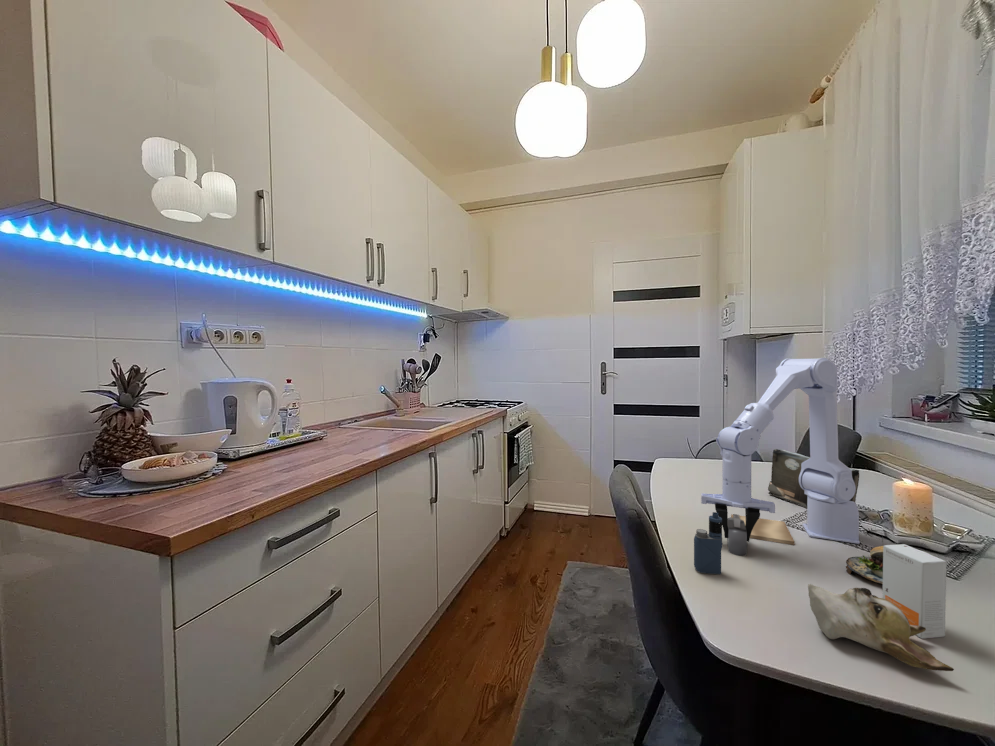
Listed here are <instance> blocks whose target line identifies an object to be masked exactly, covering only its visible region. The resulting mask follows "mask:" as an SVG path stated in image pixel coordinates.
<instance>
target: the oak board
mask: <svg viewBox="0 0 995 746" xmlns="http://www.w3.org/2000/svg"><path fill="white" fill-rule="evenodd" d="M738 515H739V516H740V519H741V520H743V521H744V523H745V525H746V515H740V514H738ZM730 518H733V514H732V513H731V515H730ZM750 539H754V540H761V541H765V542H771V543H773V542H774V543H779V544H785V545H791V546H792V545H793V546H795V539H794V537H793V536H792V534H791V532H790V531H789V528H788V526H787V524H786V522H785V521H783V520H775V519H767V518H761V517H759V519H758V521H757V522H756V524H755V525H754V527H753V530H752V532H751V535H750Z"/></svg>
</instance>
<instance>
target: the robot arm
mask: <svg viewBox="0 0 995 746" xmlns="http://www.w3.org/2000/svg"><path fill="white" fill-rule="evenodd" d="M838 388H839V387H838V366H837V365H836V364H835V363H834V362H833V361H831V360H830V359H829V358H827V357H819V358H817V357H816V358H814V357H813V358H791V357H790V358H789V357H787V358H784V359H783V360H782V361H781V362H780V364H779V365H778V366H777V367H776V368H775V377H774V379H773V380H772V382H771V383H770V385H769V386H768V388H767V389H766V390H765V391H764V393H763V394H762V396H761V397H760V399H759V400H758V402H751V403H749V404H746V406H745V407H744V408H743V409H744V410H743V411H742V412H741V413H740V414H739V415H738V417H736V419H735V420H734V421H733V422H732V424H730V426H727V427H724V428H723V429H721V430H720V431H719V432H718V435H717V438H716V439H715V441H716V445H717V447H718V448H719V450H720V456H721V458H722V461H721V462H722V471H721V472H722V475H721V476H722V478H721V479H722V485H721V486H722V488H721V489H722V494H721V493H719V494H718V493H702V492H701V493H700V495H701V498H700V503H701V505H703V504H704V505H707V504H709V505H714V509H715V512H716V513H718V516H719V517H721V518H722V531H723V533H724V535H723V536H724V538H725V539H727V538H728V526H727V520H728V518H729V517H728V514H729V513H728V507H733V508H740V509H745V510H744V511H745V515H744V516H746V525H745V527H746V530H747V543H748V542H749V543H750V539H751V538H750V535H751V532H752V530H753V527H754V525H755V524H756V522H757V521H758V519H759V518H761V513H760V512H761V511H762V512H769V513H770V514H775V513H776V504H775V502H774V501H770V500H768V501H767V500H763V499H757V498H753V497H752V454H754V453H755V452H756V451H758V447H759V443H760V439H761V438H762V434H763V432H764V431H765V430H767V427H768V426H769V425H770V423H771V422H773V420H774V419H775V415H774V410H775V409H776V408H777V407H779V406H780V405H781V403H783V402H784V400H785V399H786V398H787V397H788V396H789V395H790V394H791V393H792V392H793V391H794V390H797V389H800V390H801V391H802V392H803V393H804V394H806V395H807V396H808V415H809V416H808V419H809V420H808V421H809V455H810V456H809V457H810V458H809V459H808V460H806V461H804V462H803V463H802V464H801V472H800V475H799V484H800V487H801V488H802V489H803V490H804V494H806V495H808V496H807V508H806V514H807V515H806V517H807V518H806V519H807V520H806V521H807V522H806V523H804V522H803V523H802V527H803V528H804V531H805V532H806V534H807V535H808V536H809V537H812V538H818V539H823V540H829V541H830V540H831V541H836V542H844V543H851V544H857V545H858V544H861V541H860V519H859V517H860V515H859V513H860V512H859V508H858V505H857V504H856V501H855V502H853V501H849V500H850V499H851V498H852V497H853V496H854V494H855V490H856V487H855V483H854V481H853V478H852V471H851V469H852V468H851V469H849V468H850V467H848V466H847V465H846V464H845V463H843V462H842V461H841V460H840V459H839V434H838V433H839V428H838V424H839V423H838Z"/></svg>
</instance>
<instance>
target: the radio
mask: <svg viewBox="0 0 995 746" xmlns="http://www.w3.org/2000/svg"><path fill="white" fill-rule="evenodd" d="M771 457H772V458H771V459H772V460H771V461H772V462H771V463H772V464H771V475H770V476H771V477H770V479H771V480H770V481H769V484H768V487H767V490H768V492H767V494H769V495H771V496H774V497H776V498H778V499H782V500H785V501H787V502H790V503H792V504H795V505H797V506H800V507H803V508H806V509H807V496H808V495H806V494H804V490H803V489H802V488H801V487H800V484H799V475H800V472H801V464H802V463H803V462H804V461H806V460H808V459H809V458H810V456H807V455H806V456H805V455H803V454H801V453H796V452H792V451H788V450H787V449H786V450H785V449H777V448H775V449H773V451H772V456H771ZM848 468H849V469H851V471H852V478H853V481H854V483H855V487H856V490H855V494H854V496H853V497H852V498H851V499H850V500H849V501H853V502H855V503H856V500H857V499H856V498H857V493H858V487H859V482H860V470H859V469H855V468H852V467H848Z"/></svg>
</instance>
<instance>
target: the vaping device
mask: <svg viewBox="0 0 995 746" xmlns="http://www.w3.org/2000/svg"><path fill="white" fill-rule="evenodd" d="M695 532H696V533H695V534H694V537H693V565H694V569H695V571H697V573H702V574H710V575H711V574H712V575H722V549H723V544H724V543H723V526H722V518H721V517H719V516H718V513H717V512H716V511H713V512H712V515H709V516H708V531H707V530H705V529H701V528H697V529H696V531H695Z"/></svg>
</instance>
